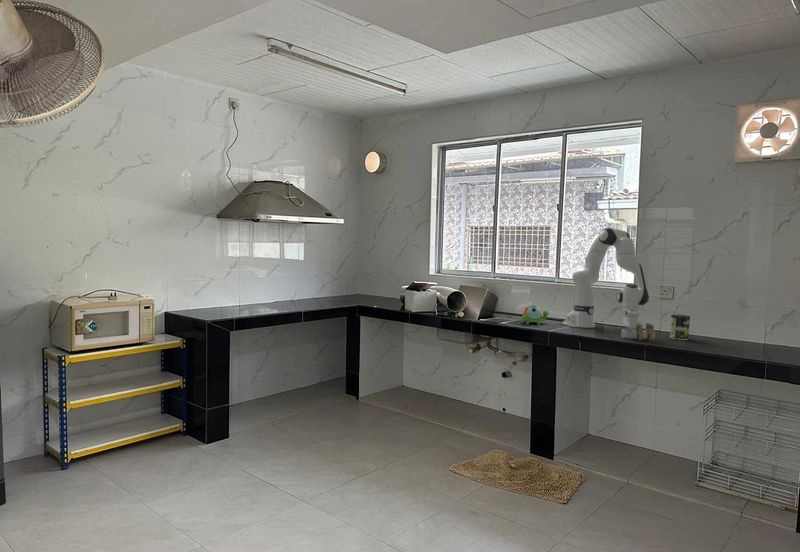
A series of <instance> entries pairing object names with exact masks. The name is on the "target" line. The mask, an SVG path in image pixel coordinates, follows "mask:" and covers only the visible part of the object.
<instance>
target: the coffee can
mask: <svg viewBox="0 0 800 552" xmlns="http://www.w3.org/2000/svg"><path fill="white" fill-rule="evenodd" d="M690 320H691V316H690V315H685V314H671V316H670V328H669V330H670V331H669V334H670V335H669V339H671V338H672V339H671V340H676V339H678V340H677V341H689V340H688V339H690V337H689V335H690Z"/></svg>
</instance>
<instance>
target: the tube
mask: <svg viewBox="0 0 800 552" xmlns="http://www.w3.org/2000/svg"><path fill="white" fill-rule="evenodd" d="M638 331H639V330H635V329H633V330H632V335H629V334H628V332H629V330H626V328H625V329H623V328H622V329H621V333H620V336H621V338H622V339H636V340H638ZM655 337H656V332H655V331H654V333H653V341H654V340H655ZM642 340H649V331H648V330H644V329H643V338H642Z"/></svg>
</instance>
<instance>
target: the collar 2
mask: <svg viewBox="0 0 800 552" xmlns="http://www.w3.org/2000/svg"><path fill="white" fill-rule="evenodd" d="M645 330H648V331H649V339H648V341H654V340H653V333H654V332H655V326H654V325H652V324H651V323H649V322H648V323H647V322H646V323H645ZM645 330H644V331H645Z"/></svg>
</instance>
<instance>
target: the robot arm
mask: <svg viewBox="0 0 800 552" xmlns="http://www.w3.org/2000/svg"><path fill="white" fill-rule="evenodd" d="M610 247H614V248H615V261H616V264H617V265H618V267H619V268H621V269H623V270H625V271H627V272H630V273H631V274H633V275H634V276H635V280H636V284H634V283H626V284H624V287H622V288H620V289H618V291H616V299H615V300H616V301H617V302H618V303H619V304H622V308H621V309H622V315H623V318H622V319H623V320H622V321H623V325H625V330H629V332H628V334H629V335H632V330H635V329H636V326H637V323H638V317H639V315H640V314H639V312H640V311H639V306H645V305H646V304H647V303H648V302H649V299H650V296H649V291H648V289H647V285H646V284H647V283H646V281H645V275H644V271H643V267H642V265H641V263H639V262H638V261H637V258H636V250H635V249H636V248H635V244H634V240H633V239H632V238H631V236H630V234H629V232H627V231H625V230H621V229H618V228H610V227H605V228H602V229H601V230H599V233H598V234H596V235H595V237H594V238H593V240H592V241H591V243H590V245H589V247H588V250H587V253H586V254H585V257H584V261H585V262H584V267H582V268H580V269H577V270H576V271H574V273H573V274H572V281H573V283H574V286H575V287H574V288H575V292H576V298H575V299H576V300H575V304H574V305H573V309H572V310H571V311H570V312H569V313H568V314H566V316H565V320H564V321H562V322H561V324H562V325H564V326H565V325H566V326H569V327H572V328H585V329H586V328H589V329H591V328H595V325H596V324H595V321H594V311H595V306H594V297H595V295H594V293H593V288H592V285H594V284H595V283H597V282H598V280H600V279H599V278H600V270H601V266H602V263H603V261H604V258H605V256H606V255H607V254H606V253H608V252H607V251H608V249H609V248H610Z"/></svg>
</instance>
